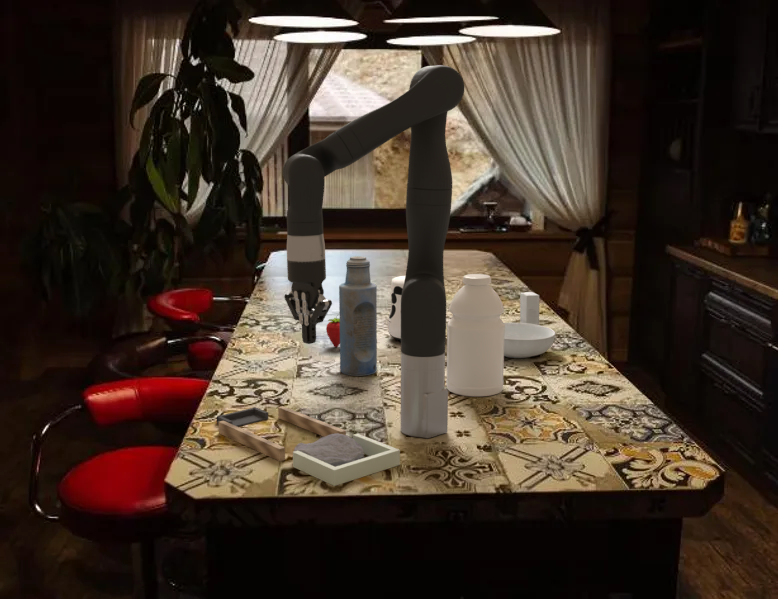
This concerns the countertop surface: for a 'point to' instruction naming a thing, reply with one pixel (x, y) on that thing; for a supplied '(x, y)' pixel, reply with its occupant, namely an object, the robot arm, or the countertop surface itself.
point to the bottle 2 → (475, 339)
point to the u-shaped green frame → (377, 461)
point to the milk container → (396, 307)
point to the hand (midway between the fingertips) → (309, 342)
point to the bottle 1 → (358, 319)
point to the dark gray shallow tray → (244, 417)
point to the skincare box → (529, 308)
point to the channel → (270, 447)
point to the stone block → (333, 449)
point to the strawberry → (334, 331)
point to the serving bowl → (526, 340)
